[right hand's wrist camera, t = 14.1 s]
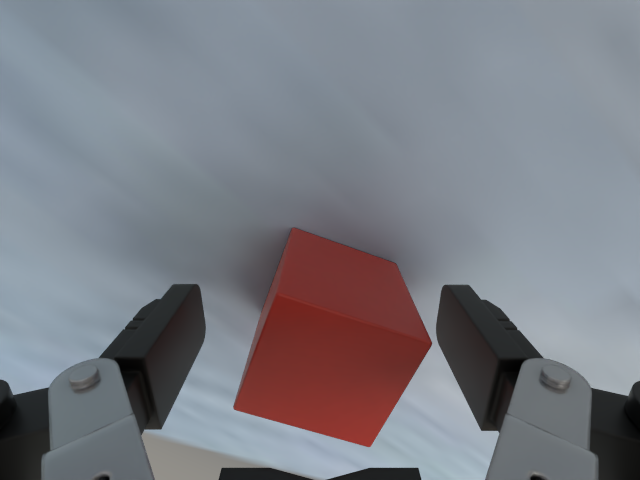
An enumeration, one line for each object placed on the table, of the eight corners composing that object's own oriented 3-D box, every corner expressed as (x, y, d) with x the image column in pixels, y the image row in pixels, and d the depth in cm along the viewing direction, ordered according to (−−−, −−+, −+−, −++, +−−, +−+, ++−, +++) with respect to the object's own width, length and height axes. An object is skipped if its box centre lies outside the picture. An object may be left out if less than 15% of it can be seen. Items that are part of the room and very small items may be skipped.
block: (292, 226, 13) (276, 292, 8) (396, 263, 13) (433, 343, 9) (260, 313, 14) (231, 410, 10) (356, 343, 15) (370, 448, 10)
